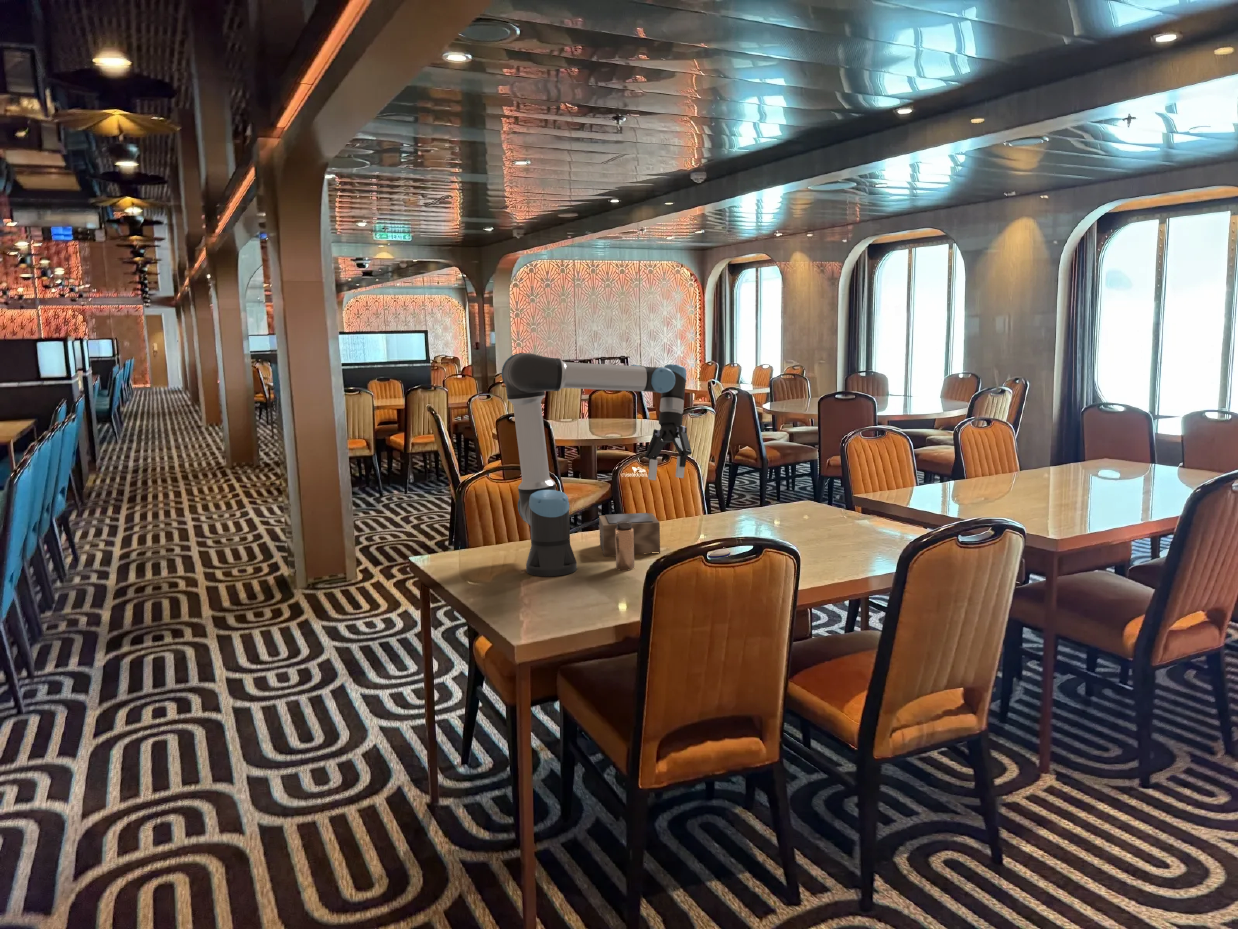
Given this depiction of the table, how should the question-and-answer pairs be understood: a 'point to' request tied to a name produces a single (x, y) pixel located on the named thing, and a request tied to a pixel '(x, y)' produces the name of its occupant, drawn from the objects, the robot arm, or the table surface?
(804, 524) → the table surface
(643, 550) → the walnut stand
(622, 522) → the copper pepper mill
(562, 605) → the table surface
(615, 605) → the table surface
